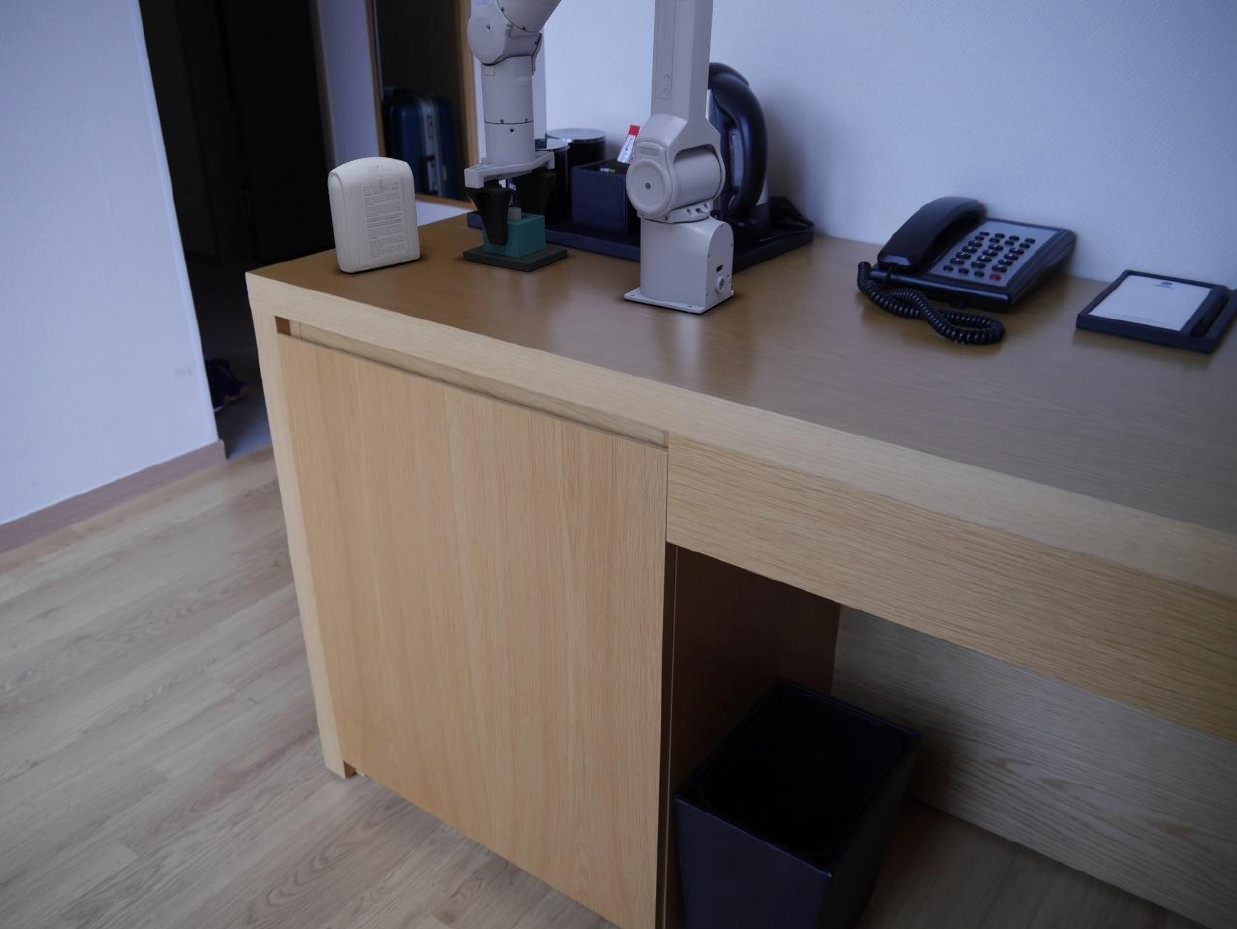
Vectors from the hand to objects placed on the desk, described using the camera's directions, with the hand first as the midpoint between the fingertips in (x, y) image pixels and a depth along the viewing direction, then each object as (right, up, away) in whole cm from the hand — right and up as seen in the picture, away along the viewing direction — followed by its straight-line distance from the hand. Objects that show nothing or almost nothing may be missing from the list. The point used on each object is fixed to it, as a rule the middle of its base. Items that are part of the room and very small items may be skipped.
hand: (515, 238), depth 117 cm
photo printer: (-16, -4, -1) cm, 16 cm away
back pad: (0, -2, +1) cm, 2 cm away
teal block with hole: (0, -1, +1) cm, 1 cm away
